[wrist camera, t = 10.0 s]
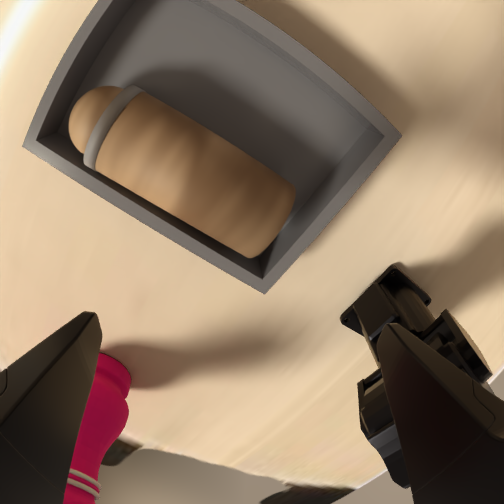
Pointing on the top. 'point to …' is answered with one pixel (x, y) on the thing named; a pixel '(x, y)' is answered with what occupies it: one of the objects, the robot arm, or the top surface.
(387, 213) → the top surface
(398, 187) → the top surface
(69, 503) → the pepper mill
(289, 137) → the dish
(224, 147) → the shaker
